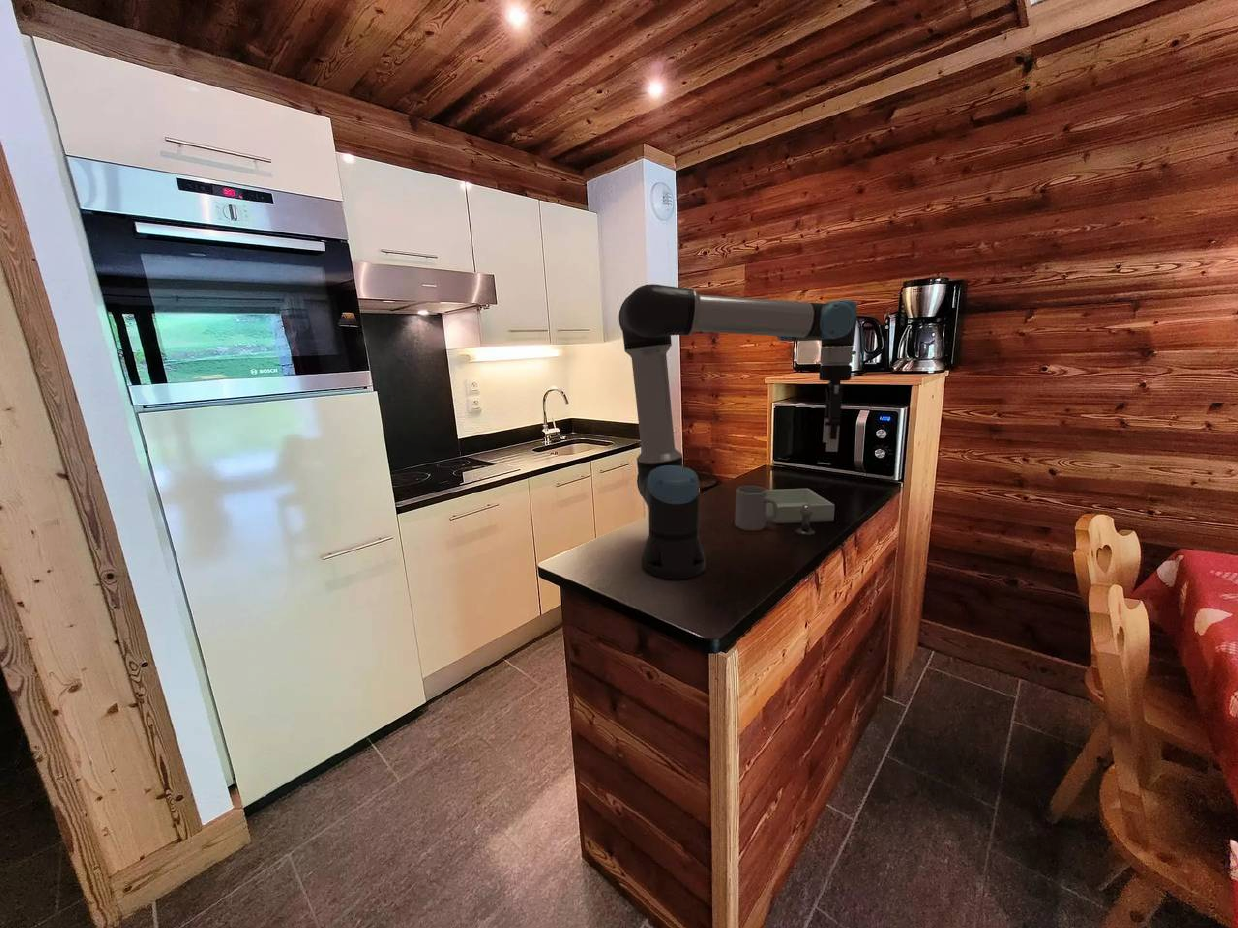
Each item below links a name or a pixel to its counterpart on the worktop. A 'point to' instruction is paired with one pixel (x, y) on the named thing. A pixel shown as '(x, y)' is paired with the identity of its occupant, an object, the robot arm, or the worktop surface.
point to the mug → (753, 508)
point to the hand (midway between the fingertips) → (829, 446)
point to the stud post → (806, 520)
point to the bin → (798, 505)
